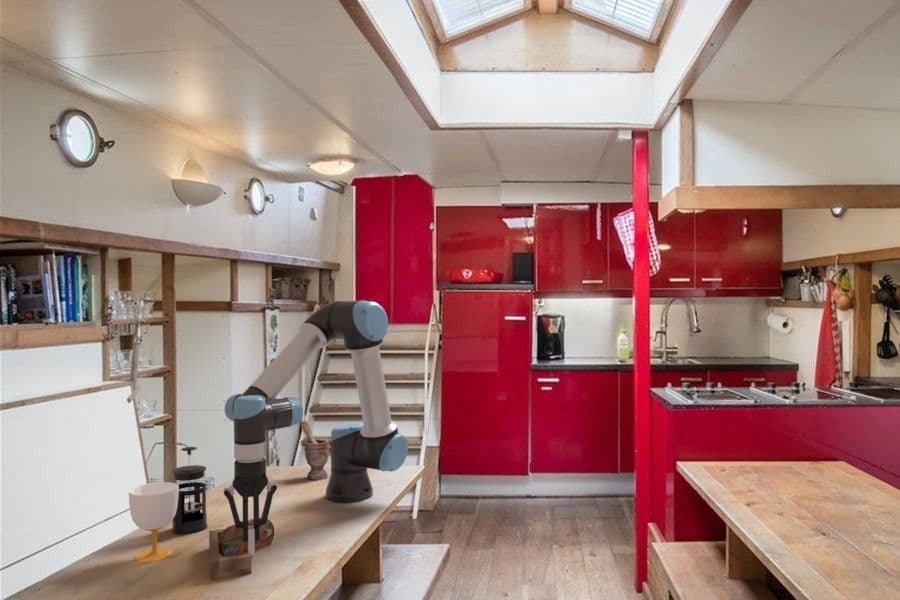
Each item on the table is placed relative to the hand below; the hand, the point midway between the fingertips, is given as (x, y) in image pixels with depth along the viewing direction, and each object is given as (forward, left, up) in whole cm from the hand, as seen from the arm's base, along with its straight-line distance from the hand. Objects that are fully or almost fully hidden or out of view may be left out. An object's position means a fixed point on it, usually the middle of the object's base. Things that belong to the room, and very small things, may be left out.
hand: (251, 553), depth 166 cm
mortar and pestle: (-26, -72, -2) cm, 76 cm away
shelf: (+5, 0, -2) cm, 5 cm away
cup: (+23, -12, -2) cm, 26 cm away
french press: (+15, -29, -2) cm, 33 cm away
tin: (+1, -4, -2) cm, 5 cm away
